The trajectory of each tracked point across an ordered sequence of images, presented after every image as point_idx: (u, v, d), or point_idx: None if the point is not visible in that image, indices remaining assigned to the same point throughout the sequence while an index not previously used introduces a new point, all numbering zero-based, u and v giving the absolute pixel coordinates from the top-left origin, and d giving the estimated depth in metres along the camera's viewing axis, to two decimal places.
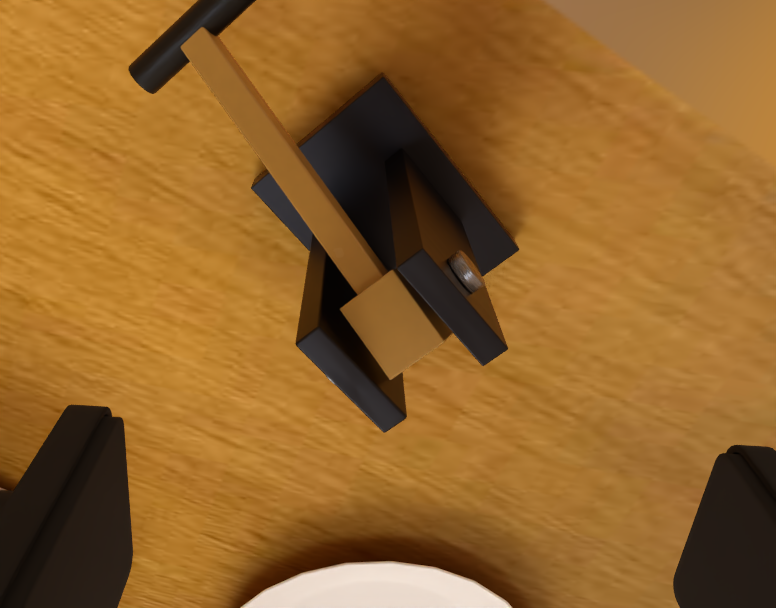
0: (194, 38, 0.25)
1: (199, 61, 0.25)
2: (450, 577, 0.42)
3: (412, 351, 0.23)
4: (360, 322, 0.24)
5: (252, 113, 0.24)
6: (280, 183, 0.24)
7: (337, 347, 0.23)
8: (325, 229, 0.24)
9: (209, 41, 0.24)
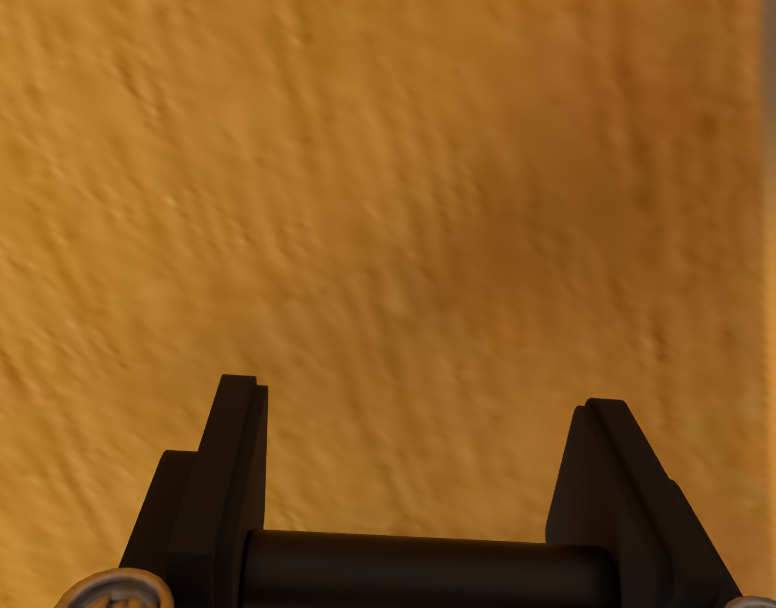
0: None
1: None
2: None
3: None
4: None
5: None
6: None
7: None
8: None
9: None
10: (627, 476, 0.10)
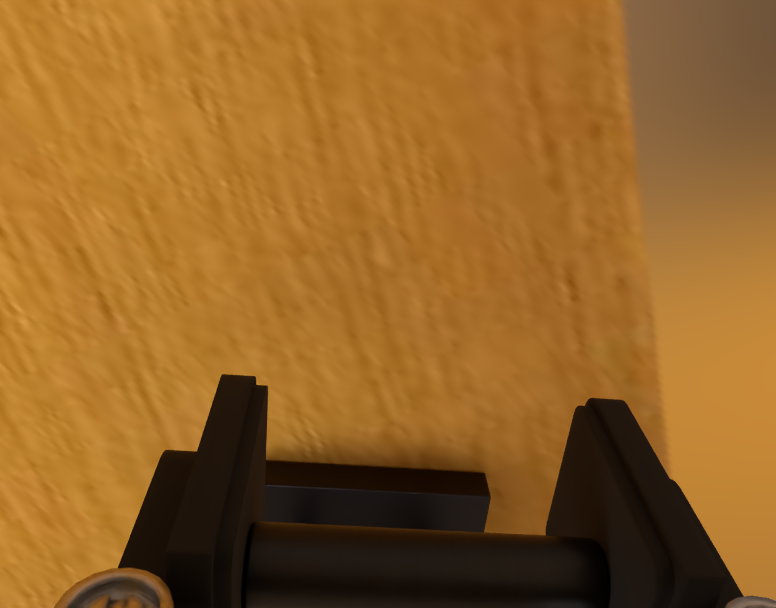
0: None
1: None
2: None
3: None
4: None
5: None
6: None
7: None
8: None
9: None
10: (627, 476, 0.10)
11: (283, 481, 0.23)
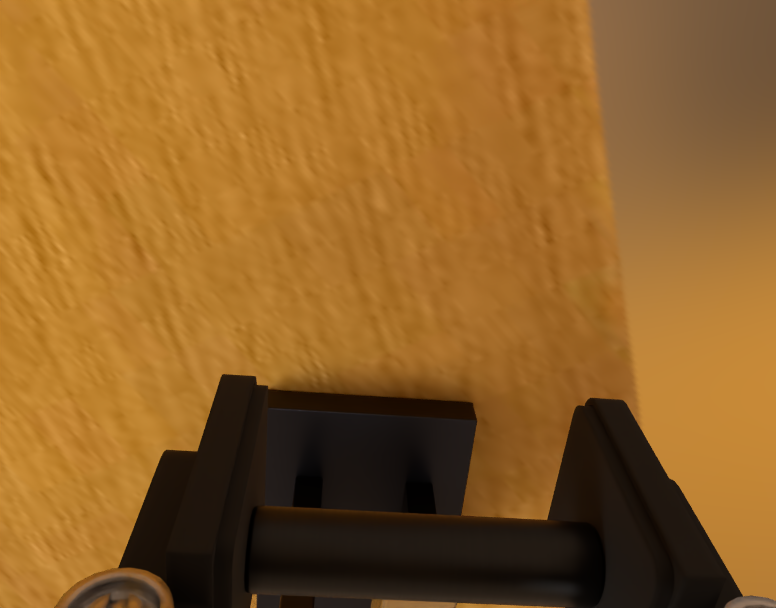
0: (425, 605, 0.11)
1: None
2: None
3: None
4: None
5: None
6: None
7: None
8: None
9: None
10: (627, 476, 0.10)
11: (293, 406, 0.26)
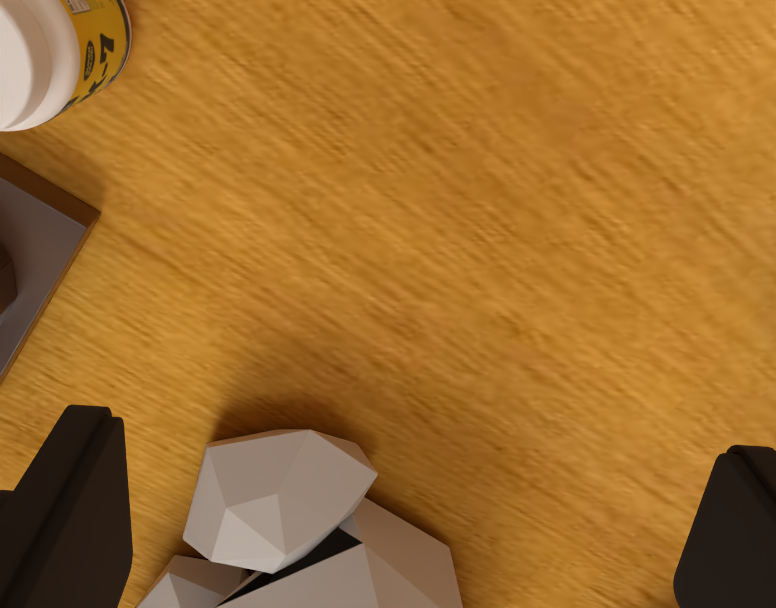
0: None
1: None
2: None
3: None
4: None
5: None
6: None
7: None
8: None
9: None
10: None
11: None
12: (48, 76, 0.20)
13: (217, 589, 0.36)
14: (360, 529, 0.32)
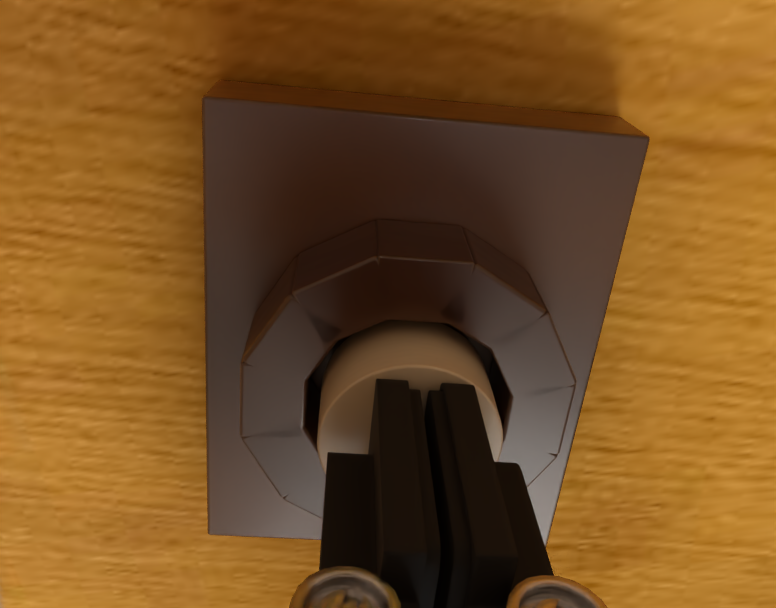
0: None
1: None
2: None
3: None
4: None
5: None
6: None
7: None
8: None
9: None
10: (453, 458, 0.10)
11: None
12: None
13: None
14: None
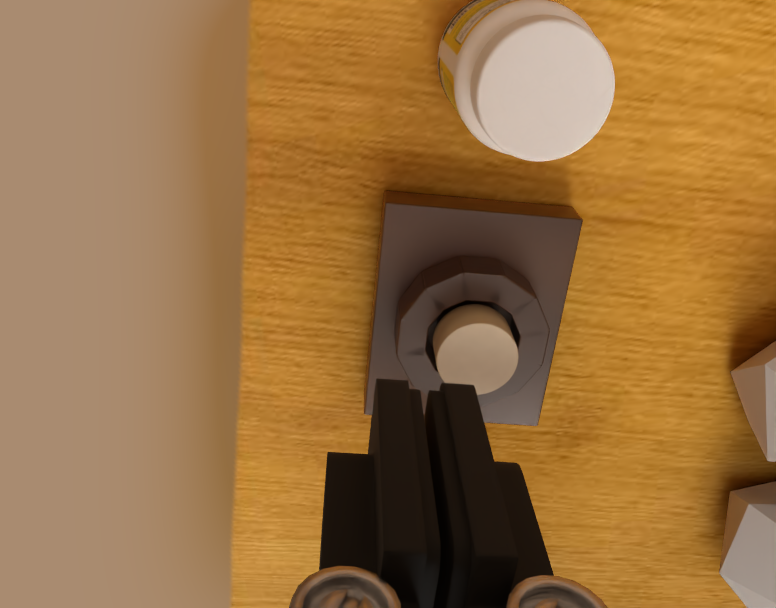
0: None
1: None
2: None
3: None
4: None
5: None
6: None
7: None
8: None
9: None
10: (453, 458, 0.10)
11: None
12: None
13: None
14: None
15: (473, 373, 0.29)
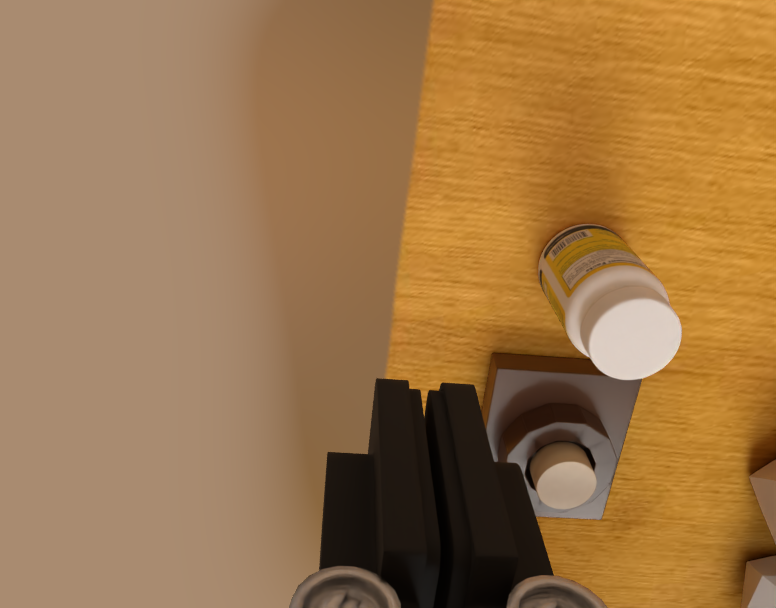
0: None
1: None
2: None
3: None
4: None
5: None
6: None
7: None
8: None
9: None
10: (453, 459, 0.10)
11: None
12: None
13: None
14: None
15: (563, 494, 0.39)
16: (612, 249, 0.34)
